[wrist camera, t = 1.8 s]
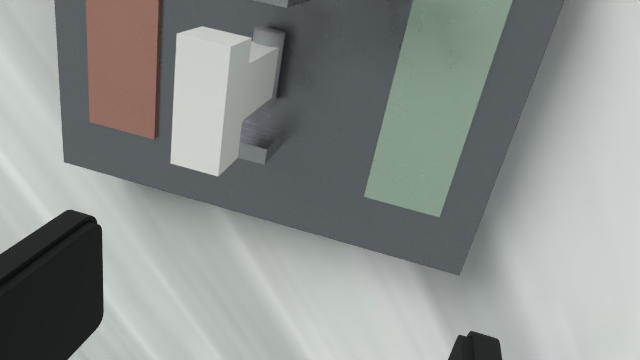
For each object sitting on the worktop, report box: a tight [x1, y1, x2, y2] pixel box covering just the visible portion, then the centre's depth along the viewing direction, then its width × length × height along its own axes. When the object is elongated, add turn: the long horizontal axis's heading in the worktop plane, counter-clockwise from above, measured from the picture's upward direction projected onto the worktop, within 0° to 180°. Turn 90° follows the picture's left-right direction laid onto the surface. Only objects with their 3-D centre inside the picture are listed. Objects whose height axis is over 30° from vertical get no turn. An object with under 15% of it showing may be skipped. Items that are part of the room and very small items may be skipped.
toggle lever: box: [170, 26, 285, 176], centre depth 26 cm, size 2×6×10 cm, turn 169°
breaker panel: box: [55, 0, 564, 275], centre depth 31 cm, size 30×22×9 cm
